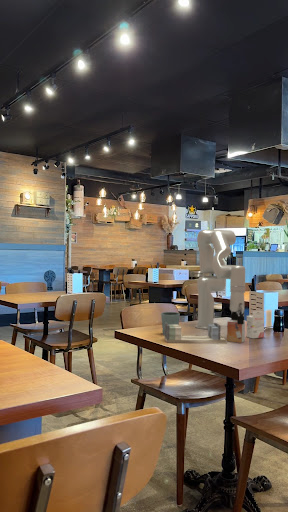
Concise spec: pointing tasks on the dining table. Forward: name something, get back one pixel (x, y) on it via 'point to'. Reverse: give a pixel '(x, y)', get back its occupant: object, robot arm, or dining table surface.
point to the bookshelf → (175, 336)
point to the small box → (235, 331)
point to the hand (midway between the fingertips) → (237, 322)
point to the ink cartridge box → (255, 325)
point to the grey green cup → (169, 319)
